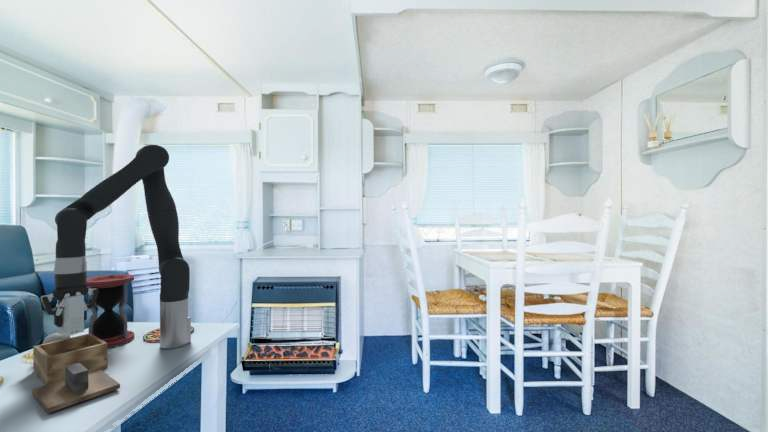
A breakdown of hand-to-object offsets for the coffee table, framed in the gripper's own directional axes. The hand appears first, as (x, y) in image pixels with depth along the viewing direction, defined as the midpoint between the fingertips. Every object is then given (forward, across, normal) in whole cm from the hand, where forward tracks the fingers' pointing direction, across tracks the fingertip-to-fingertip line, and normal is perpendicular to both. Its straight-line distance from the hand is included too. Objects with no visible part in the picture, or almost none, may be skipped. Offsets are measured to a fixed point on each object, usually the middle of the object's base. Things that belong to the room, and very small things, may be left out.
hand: (70, 324), depth 108 cm
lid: (+14, -3, -20) cm, 25 cm away
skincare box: (+3, 0, 0) cm, 3 cm away
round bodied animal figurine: (+15, +2, +16) cm, 22 cm away
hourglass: (+15, +16, +19) cm, 29 cm away
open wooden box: (+15, 0, 0) cm, 15 cm away
